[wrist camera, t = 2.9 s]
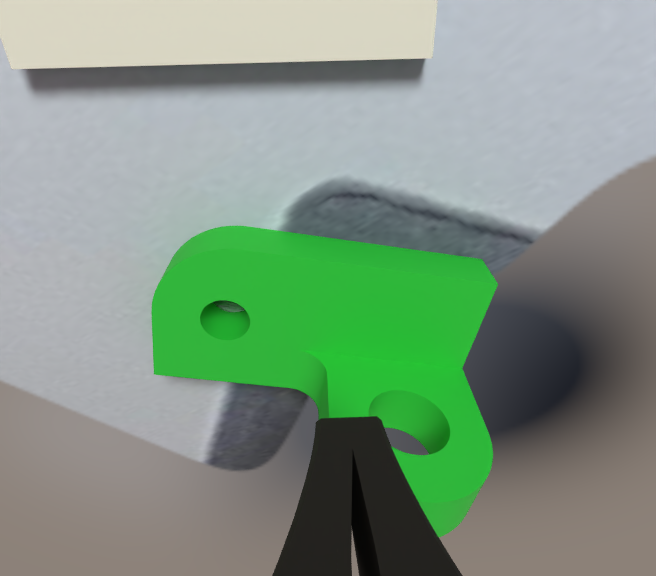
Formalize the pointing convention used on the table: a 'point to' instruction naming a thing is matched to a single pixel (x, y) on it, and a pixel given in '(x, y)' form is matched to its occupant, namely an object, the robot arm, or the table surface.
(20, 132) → the table surface
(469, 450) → the mechanical part
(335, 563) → the robot arm
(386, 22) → the plate
